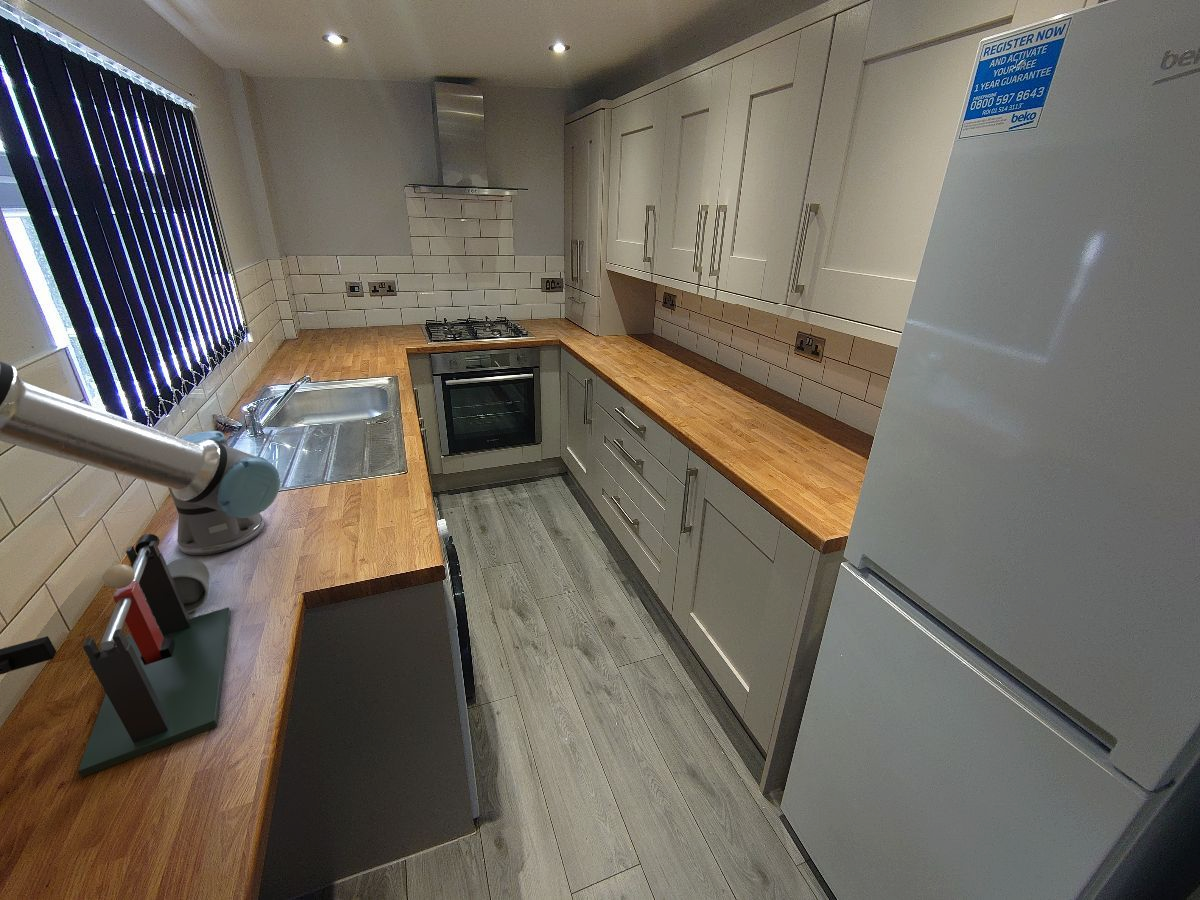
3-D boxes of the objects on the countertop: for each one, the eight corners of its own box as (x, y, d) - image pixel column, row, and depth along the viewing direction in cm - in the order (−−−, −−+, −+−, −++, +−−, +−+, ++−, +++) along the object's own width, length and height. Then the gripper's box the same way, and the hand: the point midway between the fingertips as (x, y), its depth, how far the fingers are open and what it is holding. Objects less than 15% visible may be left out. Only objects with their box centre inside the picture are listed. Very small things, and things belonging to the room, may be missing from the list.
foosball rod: (161, 599, 87) (125, 519, 81) (187, 592, 89) (154, 512, 82) (125, 717, 66) (73, 621, 60) (160, 705, 68) (113, 610, 62)
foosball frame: (128, 642, 85) (84, 553, 78) (230, 612, 91) (197, 527, 84) (81, 777, 64) (14, 672, 57) (217, 726, 70) (172, 626, 63)
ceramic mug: (215, 581, 99) (201, 547, 96) (214, 605, 93) (199, 570, 90) (144, 603, 94) (127, 568, 91) (138, 630, 88) (119, 593, 84)
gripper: (-172, 708, 65) (77, 638, 76) (-258, 800, 55) (45, 704, 65) (-211, 663, 62) (54, 596, 73) (-309, 751, 52) (17, 658, 62)
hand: (50, 647), depth 69 cm, fingers closed
